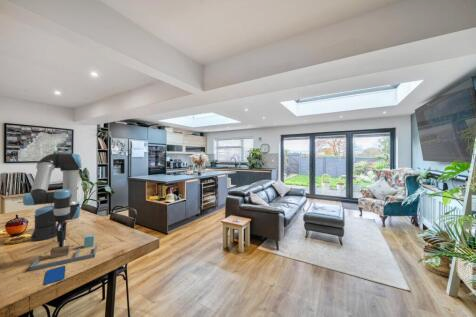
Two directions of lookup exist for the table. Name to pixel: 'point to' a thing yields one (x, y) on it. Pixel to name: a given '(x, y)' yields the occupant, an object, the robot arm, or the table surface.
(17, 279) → the table surface
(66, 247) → the walnut block
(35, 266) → the slot rack
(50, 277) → the smartphone
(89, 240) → the teal block
